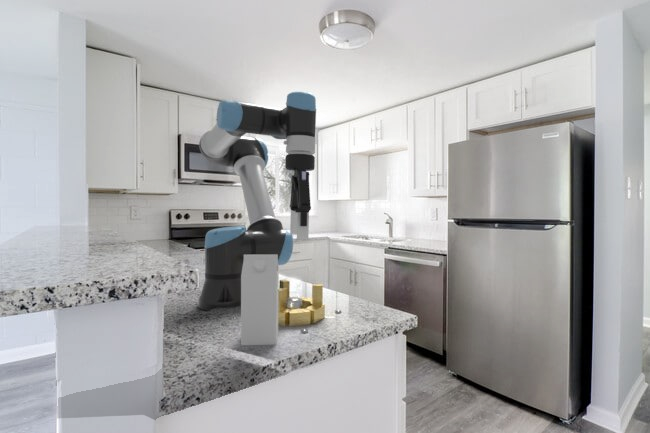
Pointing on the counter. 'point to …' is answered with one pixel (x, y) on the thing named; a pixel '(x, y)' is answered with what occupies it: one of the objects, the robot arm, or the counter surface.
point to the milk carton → (259, 300)
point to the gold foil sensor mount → (310, 306)
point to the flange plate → (300, 307)
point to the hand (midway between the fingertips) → (298, 236)
